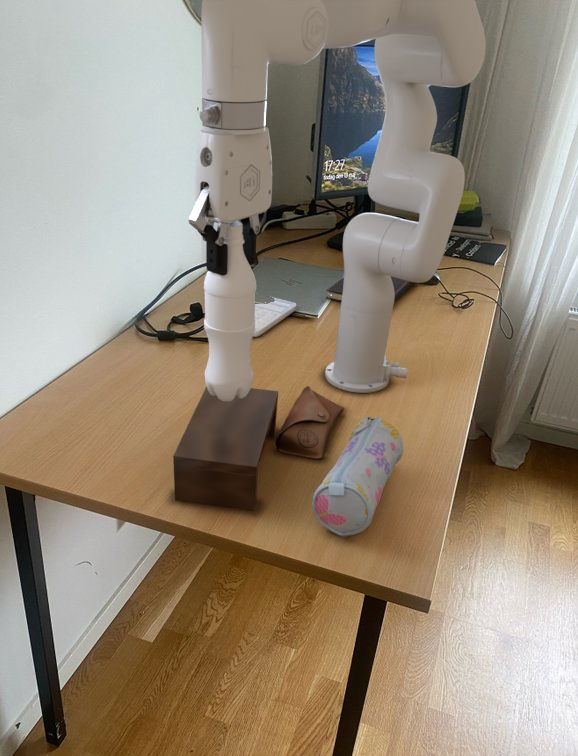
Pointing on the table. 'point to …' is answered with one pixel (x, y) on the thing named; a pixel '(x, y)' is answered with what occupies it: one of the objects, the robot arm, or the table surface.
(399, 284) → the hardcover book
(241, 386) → the water bottle
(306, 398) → the sunglasses case
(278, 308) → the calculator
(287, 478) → the table surface
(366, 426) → the pencil case
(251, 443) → the wooden block
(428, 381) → the table surface
